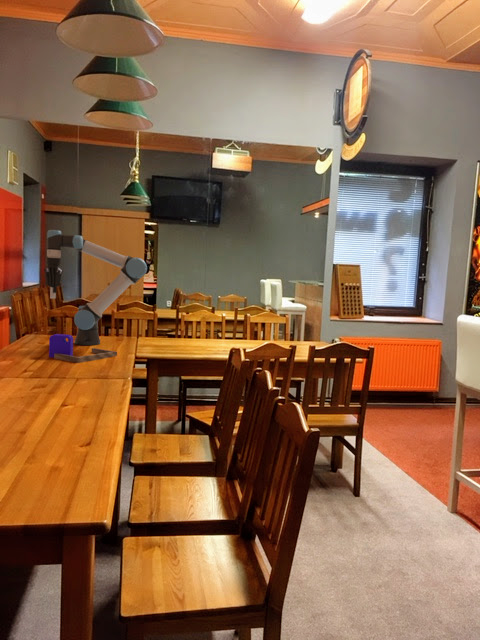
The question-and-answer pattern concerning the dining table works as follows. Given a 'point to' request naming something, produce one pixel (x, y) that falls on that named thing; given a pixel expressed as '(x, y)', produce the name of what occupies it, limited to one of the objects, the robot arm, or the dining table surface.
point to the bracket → (60, 345)
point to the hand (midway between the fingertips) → (52, 298)
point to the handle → (100, 355)
